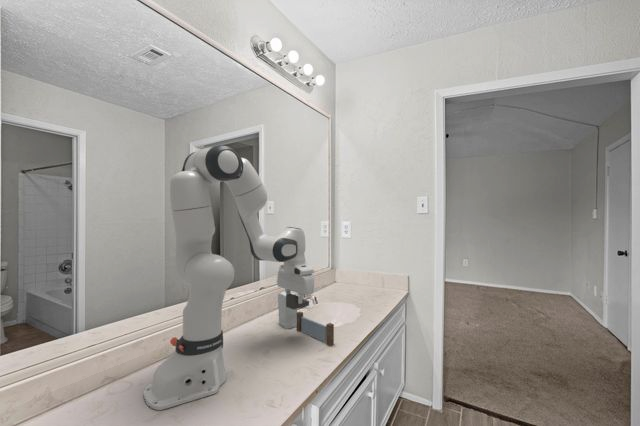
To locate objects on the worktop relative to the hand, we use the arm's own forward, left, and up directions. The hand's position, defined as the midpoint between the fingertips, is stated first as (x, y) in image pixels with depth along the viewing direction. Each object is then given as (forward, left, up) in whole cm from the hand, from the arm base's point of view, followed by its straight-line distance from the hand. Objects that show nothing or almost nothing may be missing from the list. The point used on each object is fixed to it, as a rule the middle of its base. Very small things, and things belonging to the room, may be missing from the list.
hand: (294, 301), depth 119 cm
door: (+8, -3, -15) cm, 17 cm away
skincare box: (+7, +15, -16) cm, 23 cm away
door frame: (+7, -4, -15) cm, 18 cm away
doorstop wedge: (+2, 0, -2) cm, 3 cm away
